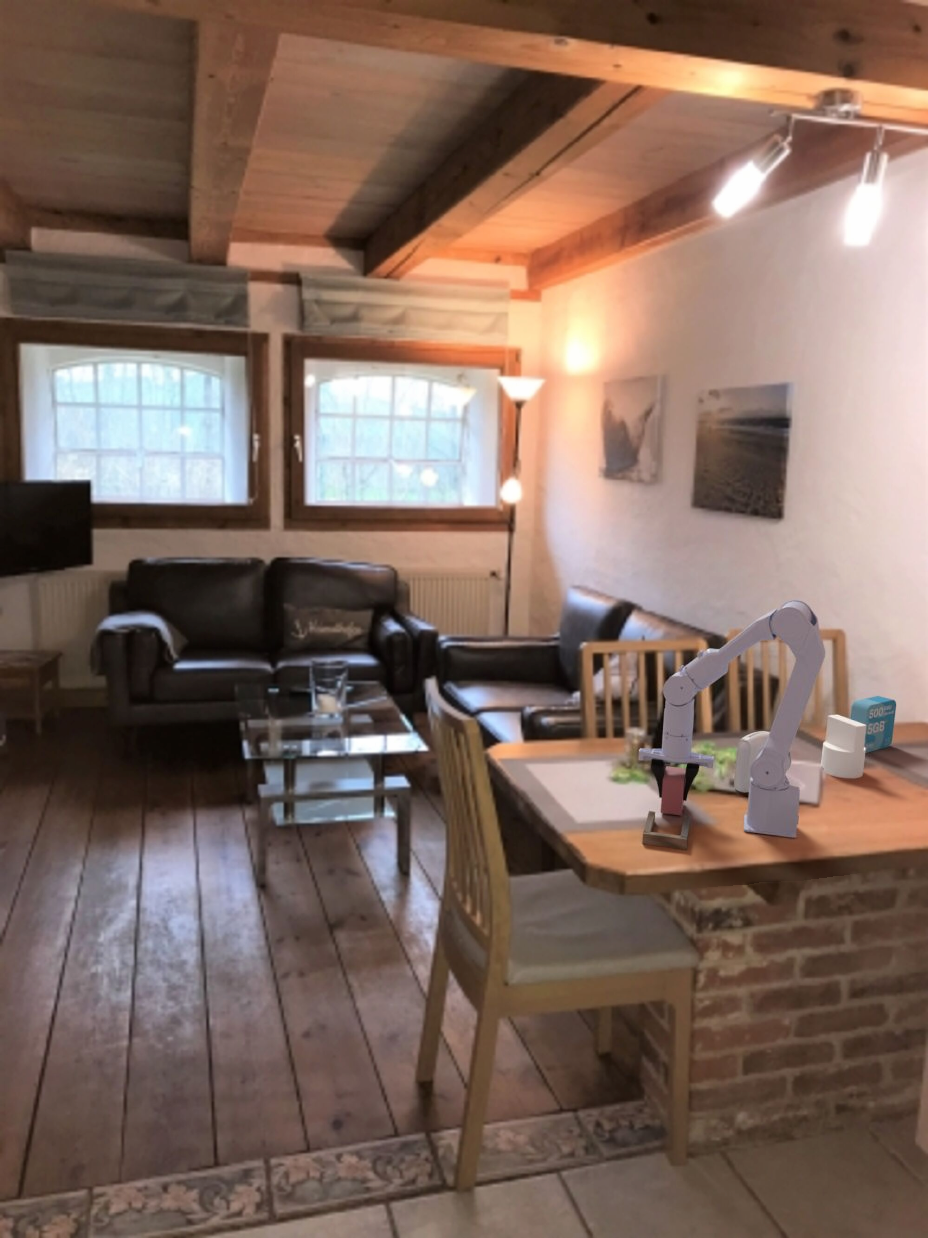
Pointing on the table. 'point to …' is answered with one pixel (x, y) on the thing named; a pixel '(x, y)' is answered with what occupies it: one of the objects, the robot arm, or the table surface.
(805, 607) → the robot arm
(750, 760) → the photo printer
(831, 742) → the cylinder with rectangular tab
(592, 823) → the table surface
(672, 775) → the dull red block
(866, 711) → the data package
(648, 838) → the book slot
